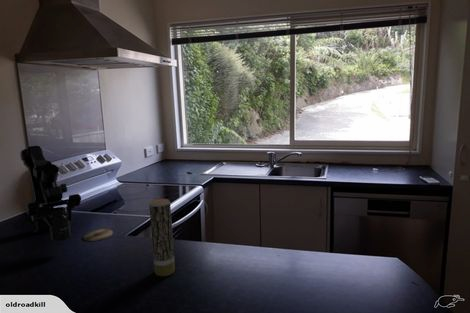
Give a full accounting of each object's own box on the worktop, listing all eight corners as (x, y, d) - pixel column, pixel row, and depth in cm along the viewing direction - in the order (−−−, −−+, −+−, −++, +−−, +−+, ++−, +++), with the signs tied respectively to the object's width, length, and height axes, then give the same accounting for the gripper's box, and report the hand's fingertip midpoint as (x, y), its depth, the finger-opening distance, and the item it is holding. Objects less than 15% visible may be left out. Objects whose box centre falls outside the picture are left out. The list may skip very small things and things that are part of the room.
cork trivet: (77, 239, 147) (77, 237, 147) (96, 229, 158) (96, 227, 158) (100, 242, 143) (100, 240, 143) (118, 231, 154) (118, 230, 154)
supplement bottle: (65, 241, 129) (61, 211, 127) (48, 241, 129) (43, 211, 127) (74, 234, 136) (70, 205, 134) (57, 234, 136) (53, 206, 134)
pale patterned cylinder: (157, 279, 111) (151, 206, 107) (152, 270, 117) (146, 201, 113) (177, 274, 114) (172, 202, 110) (171, 265, 120) (166, 197, 116)
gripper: (24, 182, 125) (33, 218, 119) (77, 174, 137) (88, 206, 131) (23, 198, 133) (32, 233, 126) (73, 189, 145) (84, 220, 138)
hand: (60, 222), depth 130 cm, fingers closed on supplement bottle, 7 cm apart
